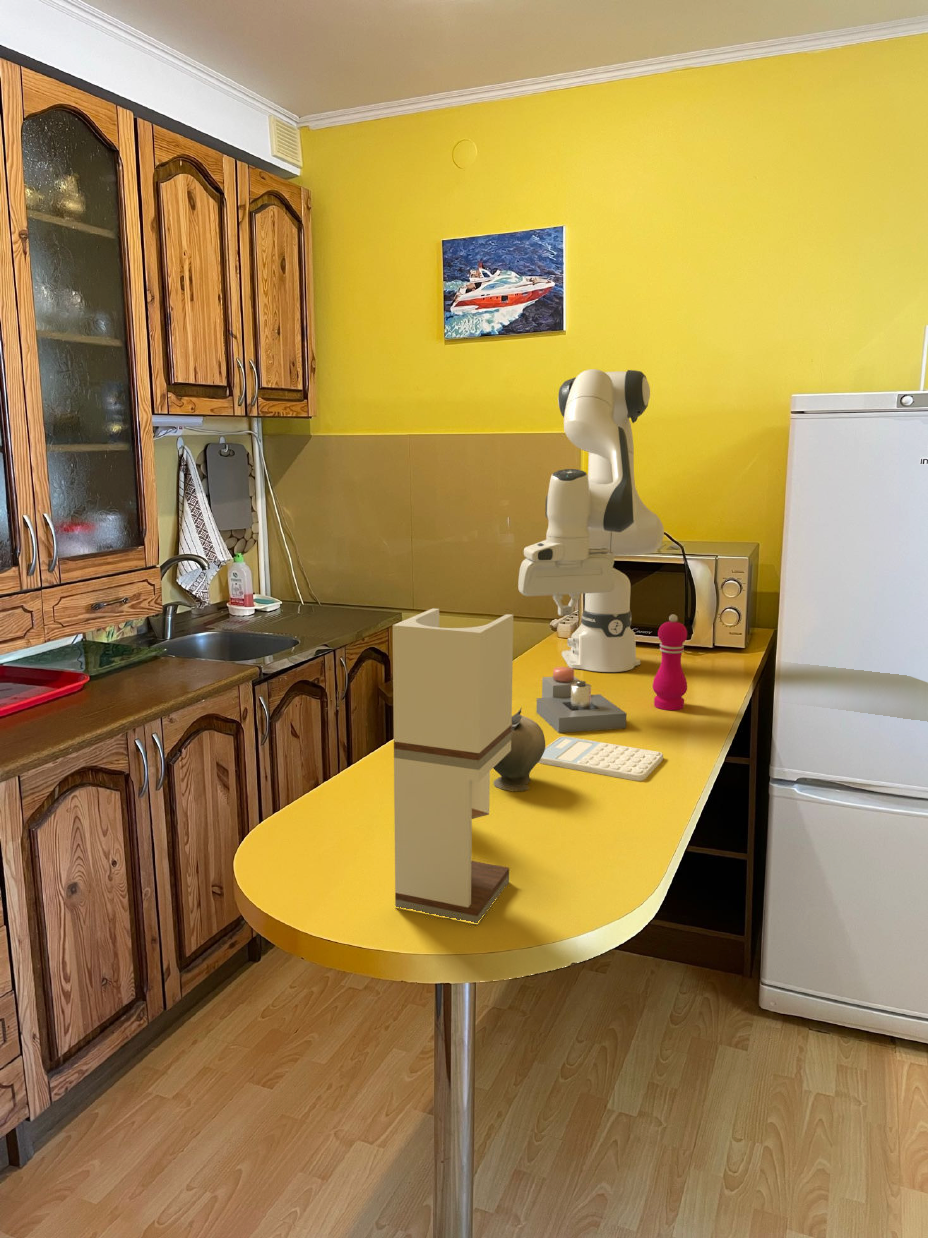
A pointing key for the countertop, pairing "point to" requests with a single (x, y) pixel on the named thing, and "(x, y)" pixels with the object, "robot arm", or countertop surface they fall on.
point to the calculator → (601, 758)
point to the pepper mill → (670, 667)
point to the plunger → (563, 674)
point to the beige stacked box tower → (447, 759)
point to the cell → (580, 696)
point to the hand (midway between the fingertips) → (565, 614)
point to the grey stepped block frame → (564, 720)
